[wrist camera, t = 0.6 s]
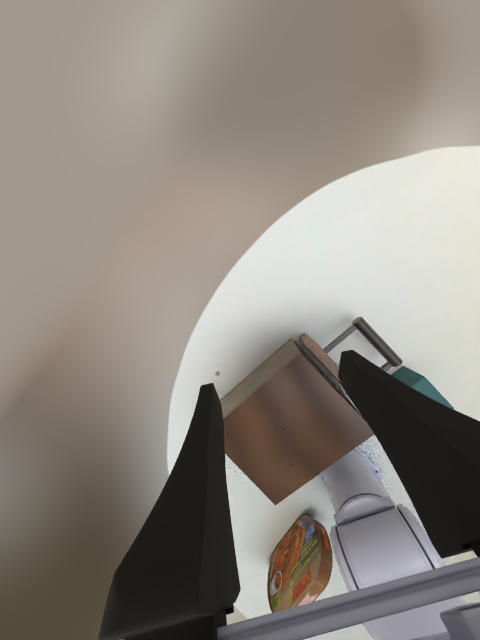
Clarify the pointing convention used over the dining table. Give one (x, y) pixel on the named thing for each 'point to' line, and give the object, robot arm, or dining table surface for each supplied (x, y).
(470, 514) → the robot arm
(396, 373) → the tea box
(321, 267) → the dining table surface
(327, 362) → the drawer
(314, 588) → the tin
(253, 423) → the cabinet
